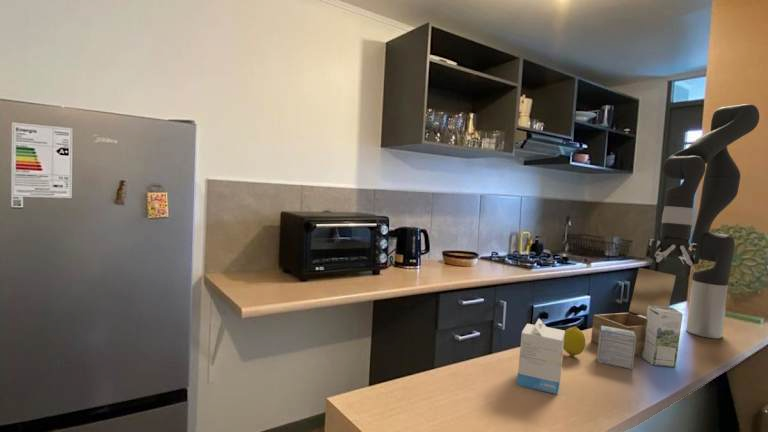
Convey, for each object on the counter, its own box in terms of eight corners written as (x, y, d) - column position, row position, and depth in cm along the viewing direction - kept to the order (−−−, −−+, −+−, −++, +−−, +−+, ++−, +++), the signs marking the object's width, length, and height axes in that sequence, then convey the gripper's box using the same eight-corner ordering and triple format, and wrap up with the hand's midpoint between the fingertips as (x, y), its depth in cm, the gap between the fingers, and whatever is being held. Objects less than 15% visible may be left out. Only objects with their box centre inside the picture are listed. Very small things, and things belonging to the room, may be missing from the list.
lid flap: (628, 311, 127) (630, 311, 127) (663, 322, 117) (665, 322, 117) (639, 267, 127) (640, 267, 127) (674, 275, 117) (676, 275, 117)
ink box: (557, 395, 87) (564, 333, 86) (516, 384, 91) (521, 324, 90) (560, 380, 95) (566, 322, 94) (522, 370, 99) (527, 315, 98)
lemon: (557, 355, 109) (560, 325, 109) (565, 350, 113) (567, 321, 113) (579, 362, 106) (582, 331, 105) (586, 357, 110) (589, 327, 109)
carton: (625, 338, 127) (627, 312, 127) (660, 352, 117) (663, 324, 117) (590, 341, 122) (593, 314, 122) (624, 356, 112) (628, 327, 111)
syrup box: (663, 359, 112) (669, 306, 111) (676, 368, 106) (683, 312, 105) (641, 356, 113) (647, 304, 112) (653, 366, 107) (659, 310, 106)
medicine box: (630, 363, 107) (634, 330, 107) (633, 370, 103) (636, 336, 103) (596, 356, 111) (599, 324, 110) (597, 362, 107) (600, 329, 106)
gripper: (692, 224, 129) (685, 276, 130) (645, 219, 130) (638, 271, 130) (709, 225, 122) (702, 280, 122) (660, 220, 122) (653, 275, 123)
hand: (669, 275), depth 126 cm, fingers open, 8 cm apart
